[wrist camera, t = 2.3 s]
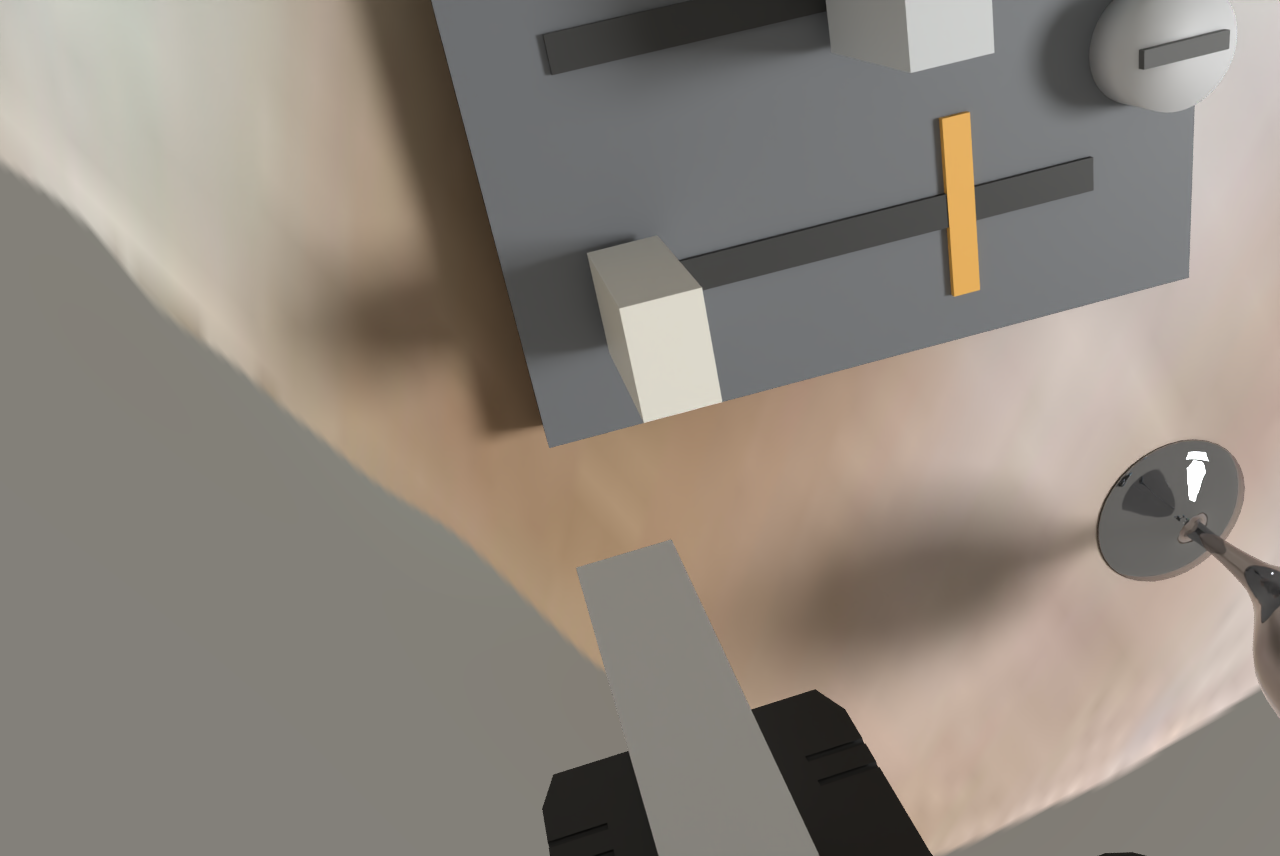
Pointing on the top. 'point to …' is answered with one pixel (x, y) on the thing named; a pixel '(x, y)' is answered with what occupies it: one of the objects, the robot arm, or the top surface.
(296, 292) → the top surface
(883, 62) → the fader
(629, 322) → the fader
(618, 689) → the robot arm
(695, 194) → the console
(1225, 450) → the wine glass
